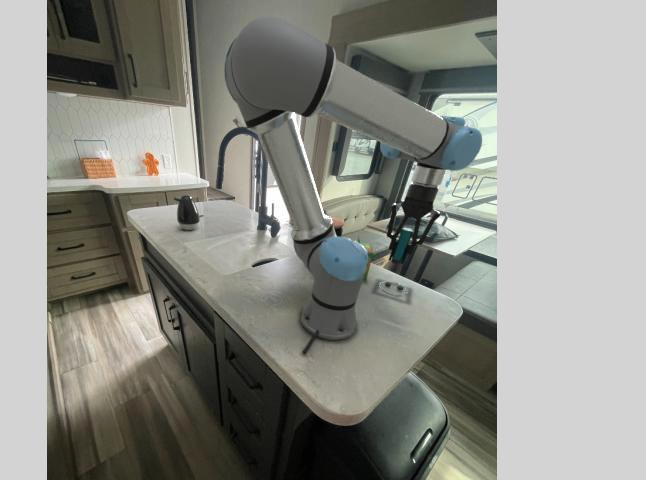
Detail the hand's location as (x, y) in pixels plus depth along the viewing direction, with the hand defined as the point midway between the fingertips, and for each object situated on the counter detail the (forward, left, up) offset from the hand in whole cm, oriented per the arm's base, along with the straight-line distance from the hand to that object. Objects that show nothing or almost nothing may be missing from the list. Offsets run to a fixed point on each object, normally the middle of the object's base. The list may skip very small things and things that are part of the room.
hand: (396, 260), depth 87 cm
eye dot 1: (0, 0, -10) cm, 10 cm away
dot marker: (0, 0, -1) cm, 1 cm away
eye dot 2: (0, -4, -10) cm, 11 cm away
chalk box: (+3, +13, -11) cm, 17 cm away
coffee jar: (+3, +25, -11) cm, 28 cm away
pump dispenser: (+3, +92, -11) cm, 93 cm away
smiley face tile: (0, -2, -11) cm, 11 cm away
